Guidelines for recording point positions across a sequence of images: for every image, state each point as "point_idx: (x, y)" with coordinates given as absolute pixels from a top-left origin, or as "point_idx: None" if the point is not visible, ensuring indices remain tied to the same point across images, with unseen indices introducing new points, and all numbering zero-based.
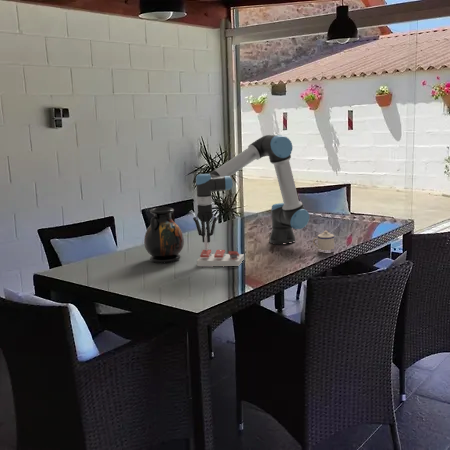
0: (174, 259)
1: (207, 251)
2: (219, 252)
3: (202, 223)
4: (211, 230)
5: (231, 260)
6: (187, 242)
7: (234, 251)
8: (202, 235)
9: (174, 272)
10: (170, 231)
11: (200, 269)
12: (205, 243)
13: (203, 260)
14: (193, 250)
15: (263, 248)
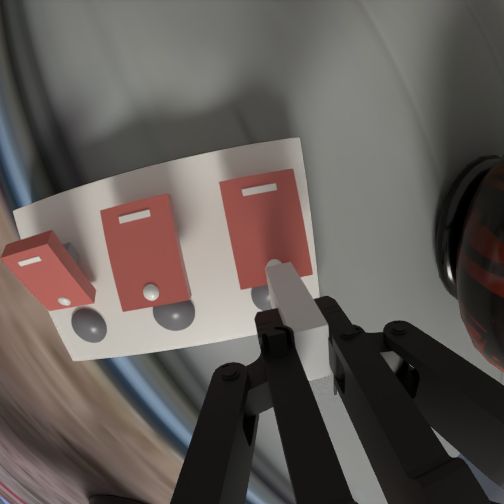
0: (452, 197)
1: (258, 250)
2: (144, 257)
3: (438, 472)
4: (225, 421)
5: (54, 213)
6: None
7: (13, 253)
8: (357, 331)
9: (359, 3)
10: None
11: (233, 73)
12: (293, 287)
13: (250, 150)
14: None
15: (128, 473)
